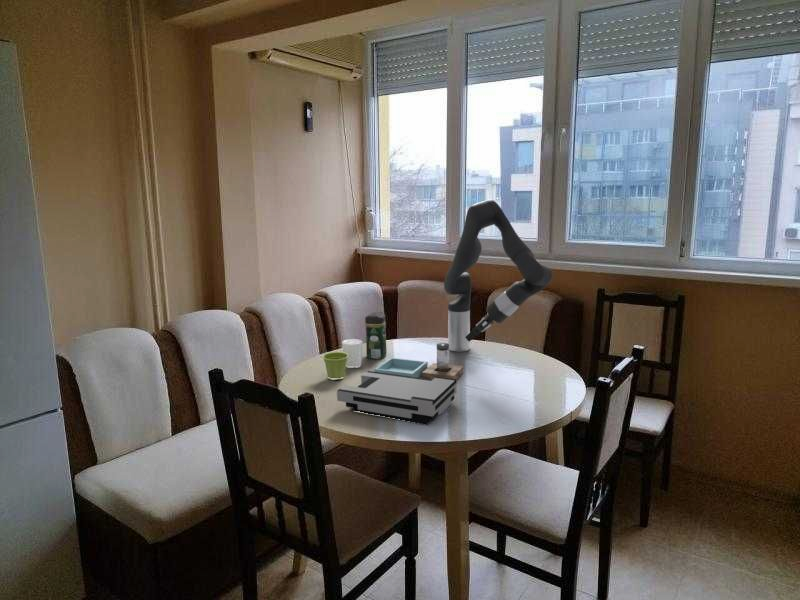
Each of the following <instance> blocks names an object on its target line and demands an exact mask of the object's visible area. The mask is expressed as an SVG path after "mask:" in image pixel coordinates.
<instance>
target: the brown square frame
mask: <svg viewBox="0 0 800 600" xmlns="http://www.w3.org/2000/svg"><path fill="white" fill-rule="evenodd" d="M463 374H464V366H463V365H455V364H454V365H453V364H449V372H439V371H437V362H436V363H435V362H433V363H431V364H430V365H429V366H428V368H427V369H426V370H424V371H423V372H422V377H421V378H425V379H432V380H433V379H434V378H435V377H444V378H452V379H456V381H457V380H458V379H459V378H460V377H461V376H462V375H463Z"/></svg>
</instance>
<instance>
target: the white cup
mask: <svg viewBox="0 0 800 600" xmlns="http://www.w3.org/2000/svg"><path fill="white" fill-rule="evenodd" d="M341 346H342V353H346V354H348V358H347V361H346V365H347V366H359V365H361V364H362V365H363V363H362V362H363V361H362V360H363V340H361V339H357V338H350V339H344V340H342V342H341Z"/></svg>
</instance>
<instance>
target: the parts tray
mask: <svg viewBox="0 0 800 600" xmlns="http://www.w3.org/2000/svg"><path fill="white" fill-rule="evenodd" d="M428 367H429V366H428V361H425V360H415V359H414V360H413V359H408V358H407V359H406V358H398V357H390V358H389V359H387V360H386V361H384V362H382V363H381V364H380V365H379V366H377V367H376V368H374V370H373V372H381V373H388V374H395V375H403V376H410V377H418V378H422V372H423V371H424V370H426V369H427V368H428Z"/></svg>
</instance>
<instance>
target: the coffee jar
mask: <svg viewBox="0 0 800 600" xmlns="http://www.w3.org/2000/svg"><path fill="white" fill-rule="evenodd" d="M364 320H365V323H364V325H365V340H366V342H365V343H366V345H365V347H366V349H365V350H366V353H365V354H366V358H367V357H370V358H369V359H371V358H380V359H384V358H385V357H386V355H387V351H388V350H387V333H386V332H387V331H386V330H387V329H386V314H385V313H384V312H382V311H372V312H371V313H369V314H367V315H366V316H365V318H364ZM384 356H385V357H384Z"/></svg>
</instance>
